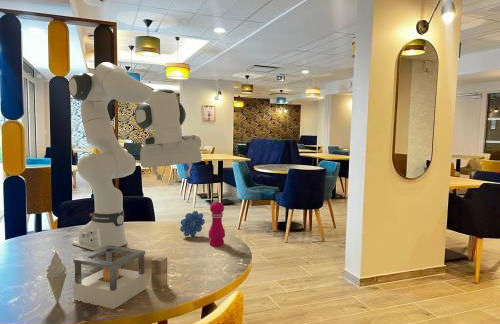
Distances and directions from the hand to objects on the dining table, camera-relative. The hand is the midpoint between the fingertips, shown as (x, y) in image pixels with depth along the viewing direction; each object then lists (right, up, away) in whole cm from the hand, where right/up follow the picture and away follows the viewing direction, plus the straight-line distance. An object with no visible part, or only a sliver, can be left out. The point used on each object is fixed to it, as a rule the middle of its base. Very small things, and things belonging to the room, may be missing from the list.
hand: (173, 178), depth 124 cm
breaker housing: (-15, -34, -15) cm, 40 cm away
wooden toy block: (-3, -34, -9) cm, 35 cm away
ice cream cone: (-28, -34, -21) cm, 49 cm away
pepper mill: (+11, -30, +34) cm, 47 cm away
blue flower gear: (-1, -29, +46) cm, 55 cm away
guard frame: (-15, -29, -16) cm, 36 cm away
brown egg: (-15, -30, -16) cm, 37 cm away
